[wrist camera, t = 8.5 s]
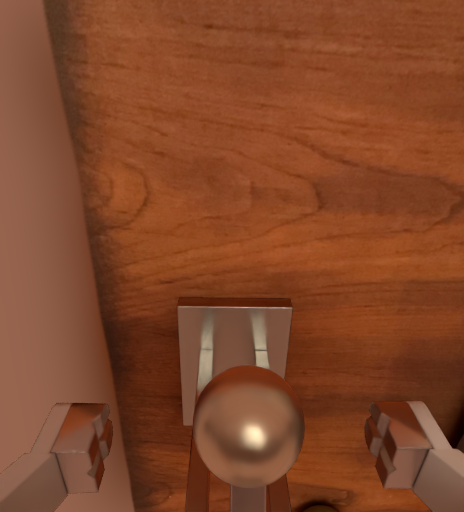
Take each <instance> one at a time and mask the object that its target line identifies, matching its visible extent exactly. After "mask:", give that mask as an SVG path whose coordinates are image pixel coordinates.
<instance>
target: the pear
mask: <svg viewBox="0 0 464 512" xmlns="http://www.w3.org/2000/svg"><path fill="white" fill-rule="evenodd" d="M304 512H337V511H336V510H335V509H333V508H331V507H329V506H325V505H315V506H312V507H309V508H308V509H306V510H305V511H304Z"/></svg>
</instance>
